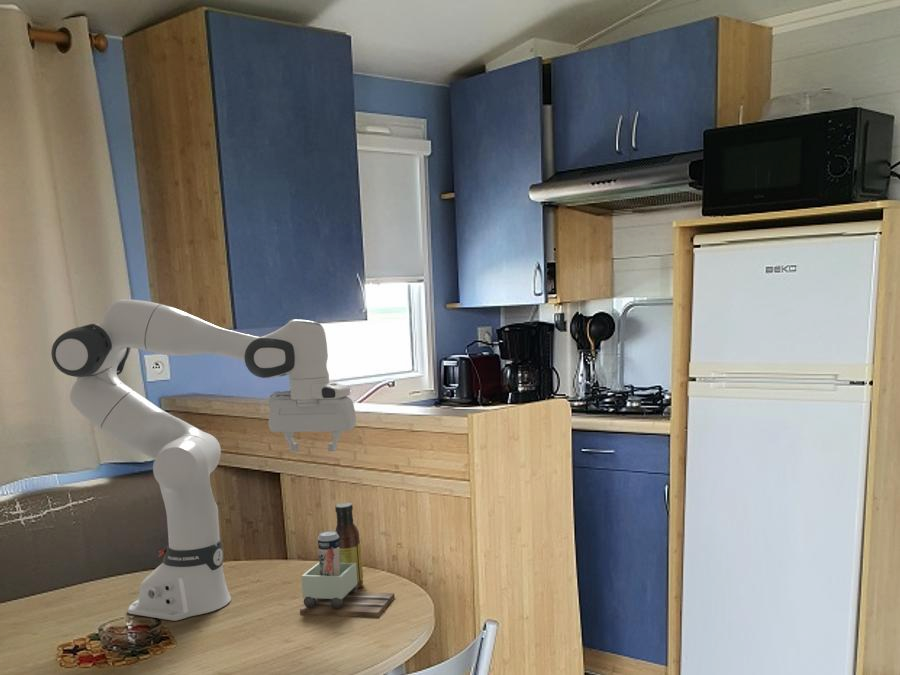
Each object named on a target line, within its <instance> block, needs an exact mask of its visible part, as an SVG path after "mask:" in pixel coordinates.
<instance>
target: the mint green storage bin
mask: <svg viewBox="0 0 900 675" xmlns="http://www.w3.org/2000/svg"><path fill="white" fill-rule="evenodd" d="M340 565H341V575H340V576H321V575H320V564H319V561H318V562H317V563H316V564H314V566H312V567H311V568H309V569H308V570H307V571H305V573H303V574H302V575H301V593H302V598H303V604H304V605H305V606H306V607H308V608H310V607H312V606H313V605H314V604H315V602H316V599H315V598H324V599H332V600H331V605H332V607H333V608H335V609H338V608H340V607H341V606H342V604H343V600H342V599H343V598H344V597H345V596H346V595H347V594H353V593H355V592H357V591H358V588H357V586H356V585H357V568H356V563H340ZM304 605H303V606H304Z"/></svg>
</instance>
